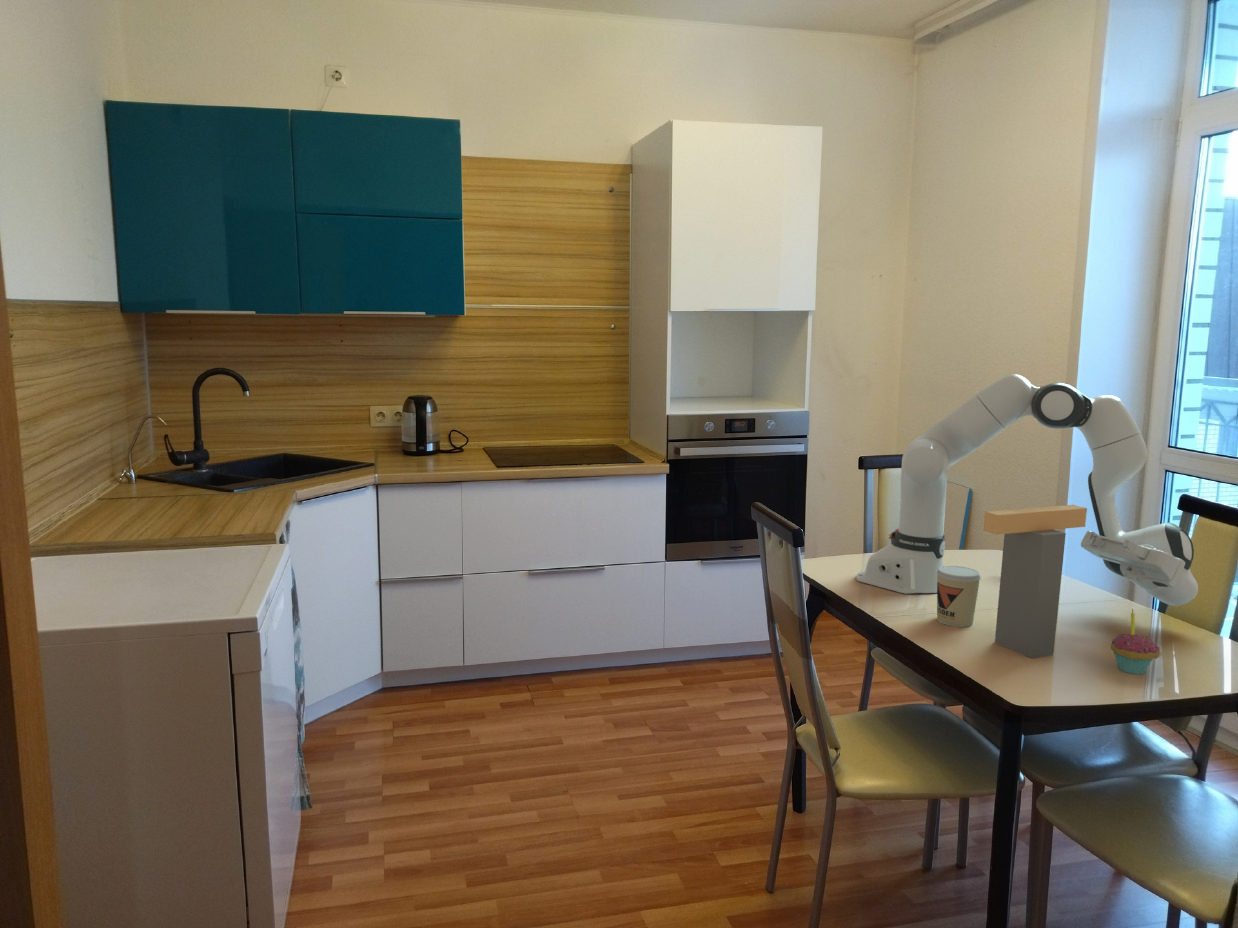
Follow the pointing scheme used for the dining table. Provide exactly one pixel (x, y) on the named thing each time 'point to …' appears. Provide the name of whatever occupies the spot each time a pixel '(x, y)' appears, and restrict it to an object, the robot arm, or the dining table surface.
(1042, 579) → the stand
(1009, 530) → the bar
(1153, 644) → the cupcake
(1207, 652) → the dining table surface
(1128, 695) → the dining table surface
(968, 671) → the dining table surface
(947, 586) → the coffee cup
